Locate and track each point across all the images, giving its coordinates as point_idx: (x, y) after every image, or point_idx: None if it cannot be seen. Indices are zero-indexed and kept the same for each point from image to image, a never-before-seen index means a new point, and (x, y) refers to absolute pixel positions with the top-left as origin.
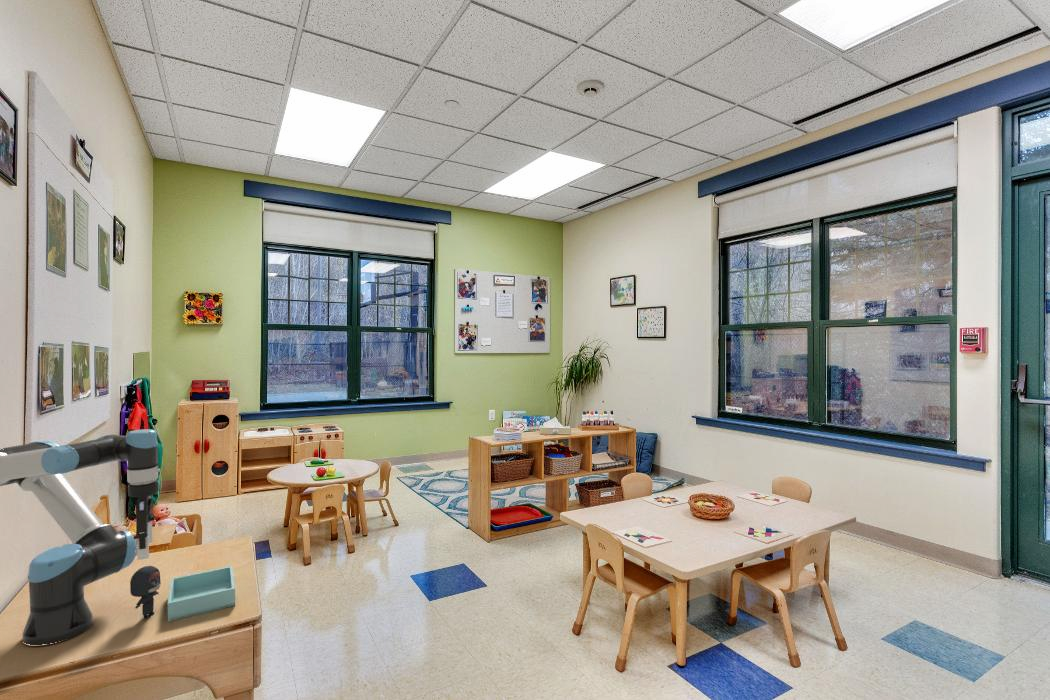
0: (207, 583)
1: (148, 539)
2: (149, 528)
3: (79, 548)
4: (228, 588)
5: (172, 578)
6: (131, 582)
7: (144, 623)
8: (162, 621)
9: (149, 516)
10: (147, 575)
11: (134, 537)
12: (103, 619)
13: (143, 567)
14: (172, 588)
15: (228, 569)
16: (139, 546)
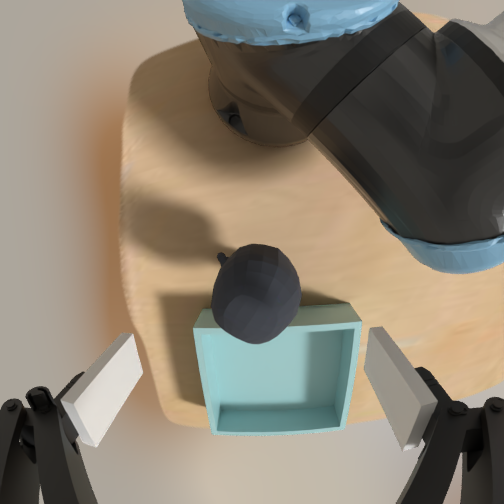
0: (339, 374)
1: (372, 365)
2: (391, 412)
3: (306, 13)
4: (295, 405)
5: (360, 324)
6: (233, 259)
7: (219, 262)
8: (210, 297)
9: (406, 485)
10: (215, 317)
11: (29, 395)
12: (293, 167)
13: (258, 308)
14: (288, 332)
15: (339, 421)
16: (71, 381)
